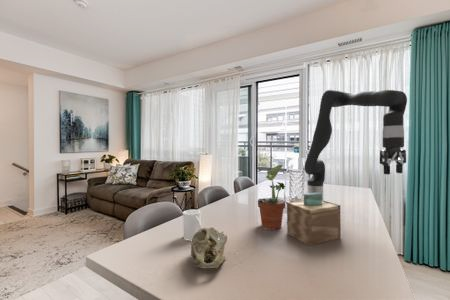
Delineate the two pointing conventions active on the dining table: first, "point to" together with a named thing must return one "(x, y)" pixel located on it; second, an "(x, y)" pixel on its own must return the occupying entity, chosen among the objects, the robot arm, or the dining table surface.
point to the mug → (191, 223)
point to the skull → (208, 247)
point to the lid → (315, 203)
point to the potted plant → (272, 204)
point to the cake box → (313, 224)
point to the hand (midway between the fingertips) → (393, 173)
